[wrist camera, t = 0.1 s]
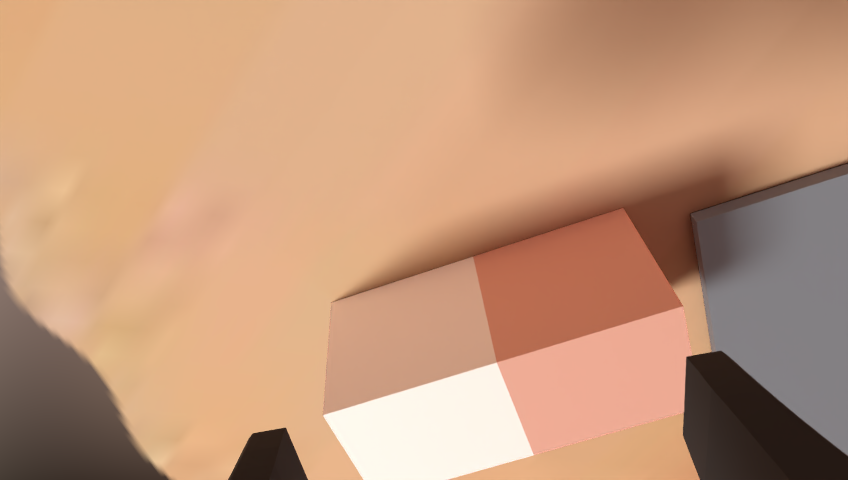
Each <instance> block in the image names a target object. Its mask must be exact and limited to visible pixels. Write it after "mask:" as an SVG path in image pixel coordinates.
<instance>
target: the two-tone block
mask: <svg viewBox="0 0 848 480" xmlns="http://www.w3.org/2000/svg"><path fill="white" fill-rule="evenodd" d="M688 356H692V353H691V347H690V341H689V336H688V330H687V325H686V319H685V314H684V308H683V305H682V303H681V302H680V300H679V299H678V297H677V295H676V294H675V292H674V290H673V289H672V287H671V285H670V284H669V282H668V280H667V279H666V277H665V276H664V274H663V272H662V271H661V269H660V267H659V266H658V264H657V262H656V261H655V259H654V258H653V256H652V254H651V253H650V251H649V249H648V248H647V246H646V244H645V243H644V241H643V239H642V238H641V236H640V235H639V233H638V231H637V230H636V228H635V226H634V225H633V223H632V221H631V220H630V218H629V217H628V215H627V213H626V212H625V210H624V208H621V209H618V210H615V211H612V212H609V213H606V214H602V215H599V216H596V217H593V218H590V219H587V220H584V221H581V222H578V223H575V224H572V225H569V226H565V227H562V228H559V229H556V230H553V231H550V232H547V233H544V234H541V235H538V236H535V237H532V238H529V239H525V240H522V241H519V242H516V243H513V244H510V245H507V246H504V247H501V248H498V249H495V250H492V251H489V252H485V253H482V254H479V255H476V256H473V257H470V258H467V259H464V260H461V261H458V262H455V263H452V264H448V265H445V266H442V267H439V268H436V269H433V270H430V271H427V272H424V273H421V274H418V275H415V276H412V277H408V278H405V279H402V280H399V281H396V282H393V283H390V284H387V285H384V286H381V287H378V288H375V289H372V290H368V291H365V292H362V293H359V294H356V295H353V296H350V297H347V298H344V299H341V300H338V301H335V302H331V312H330V326H329V339H328V353H327V366H326V380H325V393H324V407H323V416H324V418H325V419H326V421H327V423H328V424H329V426H330V427H331V429H332V430H333V432H334V434H335V435H336V437H337V438H338V440H339V442H340V443H341V445H342V446H343V448H344V449H345V451H346V453H347V454H348V456H349V457H350V459H351V460H352V462H353V464H354V465H355V467H356V468H357V470H358V472H359V473H360V475H361V476H362V478H363V479H364V480H448V479H451V478H455V477H458V476H462V475H465V474H469V473H472V472H476V471H480V470H483V469H487V468H490V467H494V466H497V465H501V464H504V463H508V462H511V461H515V460H518V459H522V458H525V457H529V456H533V455H536V454H540V453H543V452H547V451H550V450H554V449H557V448H561V447H564V446H568V445H571V444H575V443H579V442H582V441H586V440H589V439H593V438H596V437H600V436H603V435H607V434H610V433H614V432H617V431H621V430H624V429H628V428H632V427H635V426H639V425H642V424H646V423H649V422H653V421H656V420H660V419H663V418H667V417H670V416H674V415H677V414H681V413H684V399H685V375H686V357H688Z"/></svg>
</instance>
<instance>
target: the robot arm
mask: <svg viewBox="0 0 848 480" xmlns="http://www.w3.org/2000/svg"><path fill="white" fill-rule="evenodd" d="M683 436H684V439H685V442H686V444H687V447H688V450H689V452H690V455H691V458H692V460H693V463H694V465H695V468H696V470H697V473H698V475H699V478H700V480H848V455H846V454H845V453H844V452H842V451H841V450H840V449H839V448H837V447H836V446H835V445H833V444H832V443H831V442H830V441H828V440H827V439H826V438H825V437H823V436H822V435H821V434H820V433H818V432H817V431H816V430H815V429H813V428H812V427H811V426H810V425H808V424H807V423H806V422H805V421H803V420H802V419H801V418H800V417H798V416H797V415H796V414H795V413H794V412H792V411H791V410H790V409H789V408H788V407H786V406H785V405H784V404H783V403H782V402H780V401H779V400H778V399H777V398H776V397H775V396H773V395H772V394H771V393H770V392H769V391H768V390H766V389H765V388H764V387H763V386H762V385H761V384H760V383H758V382H757V381H756V380H755V379H754V378H753V377H752V376H750V375H749V374H748V373H747V372H746V371H745V370H744V369H743V368H741V367H740V366H739V365H738V364H737V363H736V362H735V361H734V360H732V359H731V358H730V357H729V356H728V355H727V354H725V353H724V352H722V351H716V352H710V353H705V354H699V355H693V356H688V357H686V375H685V399H684V424H683ZM228 480H308V479H307V477H306V474H305V472H304V470H303V467H302V465H301V462H300V460H299V458H298V455H297V453H296V451H295V448H294V446H293V444H292V441H291V439H290V437H289V434H288V432H287V429H286V428H281V429H275V430H270V431H264V432H258V433H253V434H252V435H251V437H250V438H249V439H248V441H247V443H246V445H245V447H244V449H243V451H242V453H241V455H240V457H239V459H238V461H237V463H236V465H235V467H234V469H233V471H232V473H231V475H230V477H229V479H228Z"/></svg>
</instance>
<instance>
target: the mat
mask: <svg viewBox="0 0 848 480" xmlns="http://www.w3.org/2000/svg"><path fill="white" fill-rule="evenodd" d="M690 215H691V221H692V228H693V234H694V241H695V247H696V253H697V260H698V266H699V273H700V279H701V285H702V292H703V298H704V304H705V311H706V317H707V324H708V330H709V336H710V343H711V349H712V352H716V351H722V352H724V353H725V354H727V355H728V356H729V357H730V358H731V359H732V360H734V361H735V362H736V363H737V364H738V365H739V366H740V367H741V368H743V369H744V370H745V371H746V372H747V373H748V374H749V375H750V376H752V377H753V378H754V379H755V380H756V381H757V382H758V383H760V384H761V385H762V386H763V387H764V388H765V389H766V390H768V391H769V392H770V393H771V394H772V395H773V396H775V397H776V398H777V399H778V400H779V401H780V402H782V403H783V404H784V405H785V406H786V407H788V408H789V409H790V410H791V411H792V412H794V413H795V414H796V415H797V416H798V417H800V418H801V419H802V420H803V421H805V422H806V423H807V424H808V425H810V426H811V427H812V428H813V429H815V430H816V431H817V432H818V433H820V434H821V435H822V436H823V437H825V438H826V439H827V440H828V441H830V442H831V443H832V444H833V445H835V446H836V447H837V448H839V449H840V450H841V451H842V452H844V453H845V454H846V455H848V164H845V165H841V166H838V167H835V168H832V169H829V170H826V171H823V172H820V173H816V174H813V175H810V176H807V177H804V178H801V179H798V180H795V181H791V182H788V183H785V184H782V185H779V186H776V187H773V188H770V189H766V190H763V191H760V192H757V193H754V194H751V195H748V196H744V197H741V198H738V199H735V200H732V201H729V202H726V203H723V204H719V205H716V206H713V207H710V208H707V209H704V210H701V211H698V212H694V213H691V214H690Z"/></svg>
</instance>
